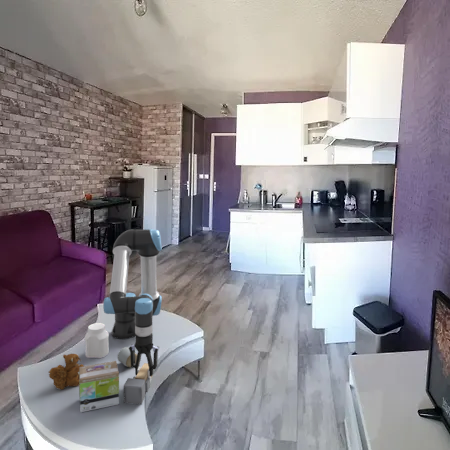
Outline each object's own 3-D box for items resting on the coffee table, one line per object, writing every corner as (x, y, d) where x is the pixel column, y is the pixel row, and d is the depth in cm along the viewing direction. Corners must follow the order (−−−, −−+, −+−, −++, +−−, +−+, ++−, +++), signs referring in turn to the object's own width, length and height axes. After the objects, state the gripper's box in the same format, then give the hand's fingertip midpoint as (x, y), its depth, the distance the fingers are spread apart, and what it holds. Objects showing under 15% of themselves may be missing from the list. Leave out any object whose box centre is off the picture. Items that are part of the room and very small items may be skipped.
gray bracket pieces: (133, 385, 157) (133, 368, 155) (150, 386, 156) (150, 370, 155) (123, 402, 145) (123, 385, 144) (141, 404, 144) (141, 386, 143)
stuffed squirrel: (88, 381, 159) (87, 354, 156) (57, 396, 148) (56, 367, 146) (77, 373, 165) (76, 347, 163) (46, 386, 154) (45, 359, 152)
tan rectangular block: (144, 374, 165) (144, 363, 164) (152, 375, 165) (152, 363, 164) (135, 390, 153) (134, 377, 152) (143, 391, 153) (143, 378, 152)
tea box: (80, 414, 138) (78, 379, 135) (79, 398, 147) (78, 366, 144) (119, 405, 144) (119, 371, 141) (116, 390, 153) (116, 359, 150)
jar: (82, 357, 178) (81, 330, 176) (90, 348, 187) (89, 321, 185) (104, 358, 178) (104, 331, 175) (111, 349, 187) (110, 322, 185)
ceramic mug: (126, 370, 168) (126, 355, 167) (117, 364, 173) (117, 349, 172) (144, 362, 176) (145, 348, 175) (135, 356, 181) (135, 342, 180)
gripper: (122, 335, 153) (122, 385, 156) (160, 338, 151) (160, 388, 155) (128, 328, 160) (128, 375, 163) (165, 330, 158) (164, 378, 162)
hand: (144, 381), depth 159 cm, fingers closed on tan rectangular block, 4 cm apart
